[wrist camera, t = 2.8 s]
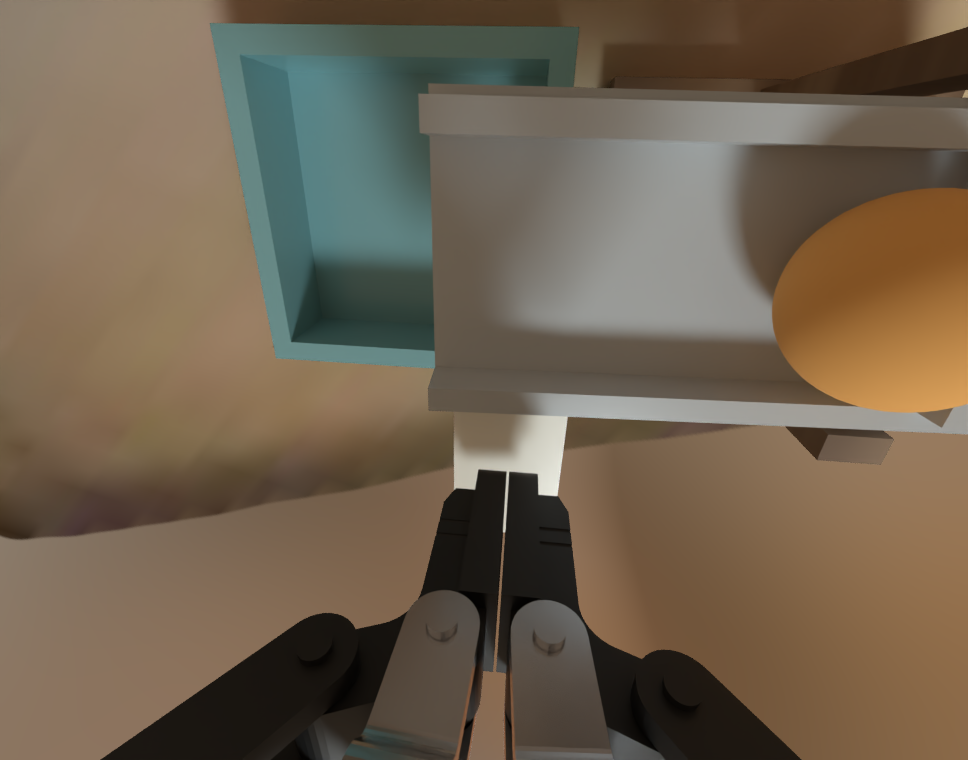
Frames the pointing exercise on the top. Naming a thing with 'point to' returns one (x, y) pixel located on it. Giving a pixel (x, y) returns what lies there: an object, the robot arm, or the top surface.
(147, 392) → the top surface
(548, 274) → the chute
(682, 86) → the stand
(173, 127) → the top surface
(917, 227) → the ball
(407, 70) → the teal square tray
